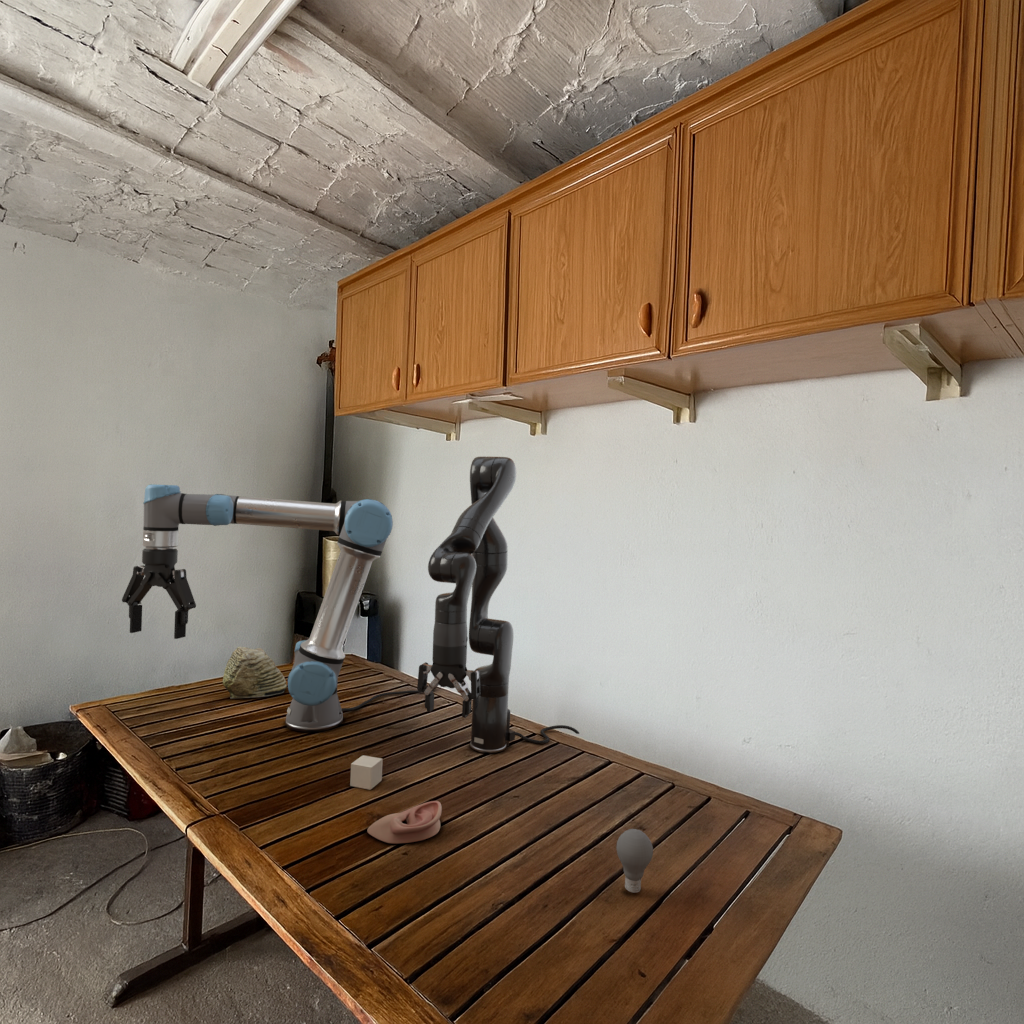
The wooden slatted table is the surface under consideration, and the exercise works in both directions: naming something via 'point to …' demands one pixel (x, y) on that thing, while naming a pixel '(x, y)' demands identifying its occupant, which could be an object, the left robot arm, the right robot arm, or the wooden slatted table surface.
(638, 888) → the light bulb
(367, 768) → the block
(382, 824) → the anatomical model
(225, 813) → the wooden slatted table surface
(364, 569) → the left robot arm
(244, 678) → the fossil
